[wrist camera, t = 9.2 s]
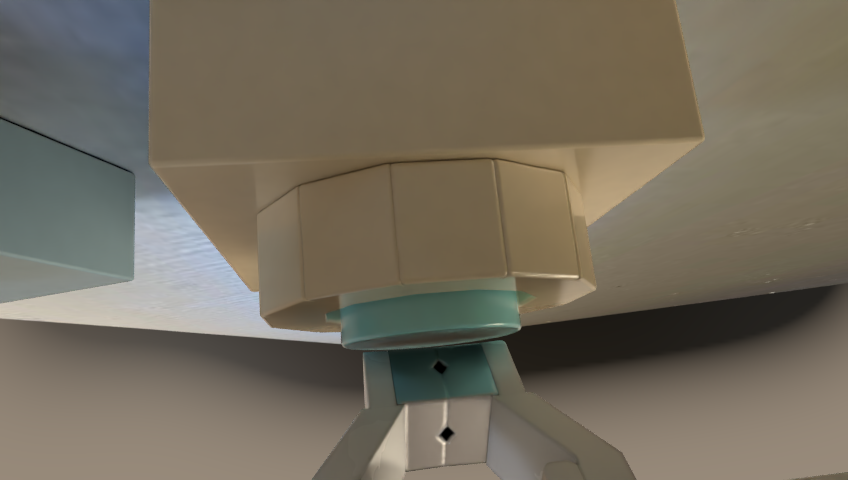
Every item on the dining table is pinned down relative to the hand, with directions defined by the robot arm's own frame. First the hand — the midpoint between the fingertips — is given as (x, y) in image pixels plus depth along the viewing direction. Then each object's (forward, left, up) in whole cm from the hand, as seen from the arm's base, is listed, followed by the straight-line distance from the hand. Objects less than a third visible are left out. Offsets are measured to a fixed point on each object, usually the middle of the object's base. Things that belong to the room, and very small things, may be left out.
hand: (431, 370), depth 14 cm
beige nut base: (+1, -1, -6) cm, 6 cm away
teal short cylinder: (-1, 0, -3) cm, 3 cm away
